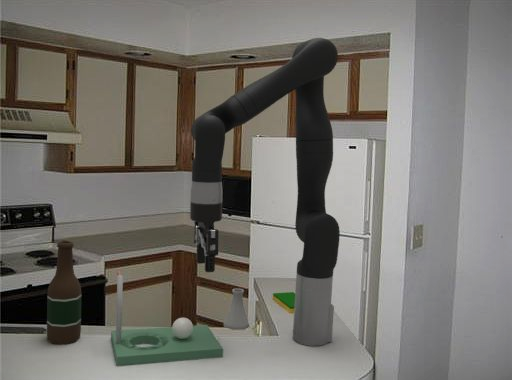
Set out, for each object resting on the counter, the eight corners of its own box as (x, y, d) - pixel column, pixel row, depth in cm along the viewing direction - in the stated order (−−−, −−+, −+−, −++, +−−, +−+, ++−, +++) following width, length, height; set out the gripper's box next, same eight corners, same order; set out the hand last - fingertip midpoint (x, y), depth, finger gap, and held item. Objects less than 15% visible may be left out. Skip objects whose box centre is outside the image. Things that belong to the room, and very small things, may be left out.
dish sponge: (290, 314, 164) (290, 306, 164) (272, 300, 177) (272, 292, 176) (311, 313, 166) (312, 305, 166) (292, 299, 179) (293, 291, 179)
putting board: (206, 332, 145) (209, 264, 143) (222, 356, 130) (226, 281, 128) (111, 338, 138) (112, 267, 136) (116, 365, 123) (118, 285, 121)
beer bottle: (87, 337, 138) (89, 241, 135) (64, 347, 131) (65, 246, 128) (63, 330, 141) (64, 237, 139) (39, 340, 134) (40, 242, 132)
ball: (190, 333, 138) (191, 314, 138) (194, 341, 134) (195, 321, 133) (170, 335, 137) (170, 315, 136) (173, 342, 132) (174, 322, 131)
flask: (246, 332, 147) (248, 295, 146) (219, 329, 148) (221, 292, 147) (252, 323, 154) (254, 287, 153) (226, 320, 155) (228, 285, 154)
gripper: (230, 204, 127) (228, 274, 129) (214, 196, 140) (212, 259, 142) (197, 205, 124) (196, 276, 126) (184, 196, 138) (183, 261, 140)
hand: (205, 267), depth 134 cm, fingers open, 8 cm apart
